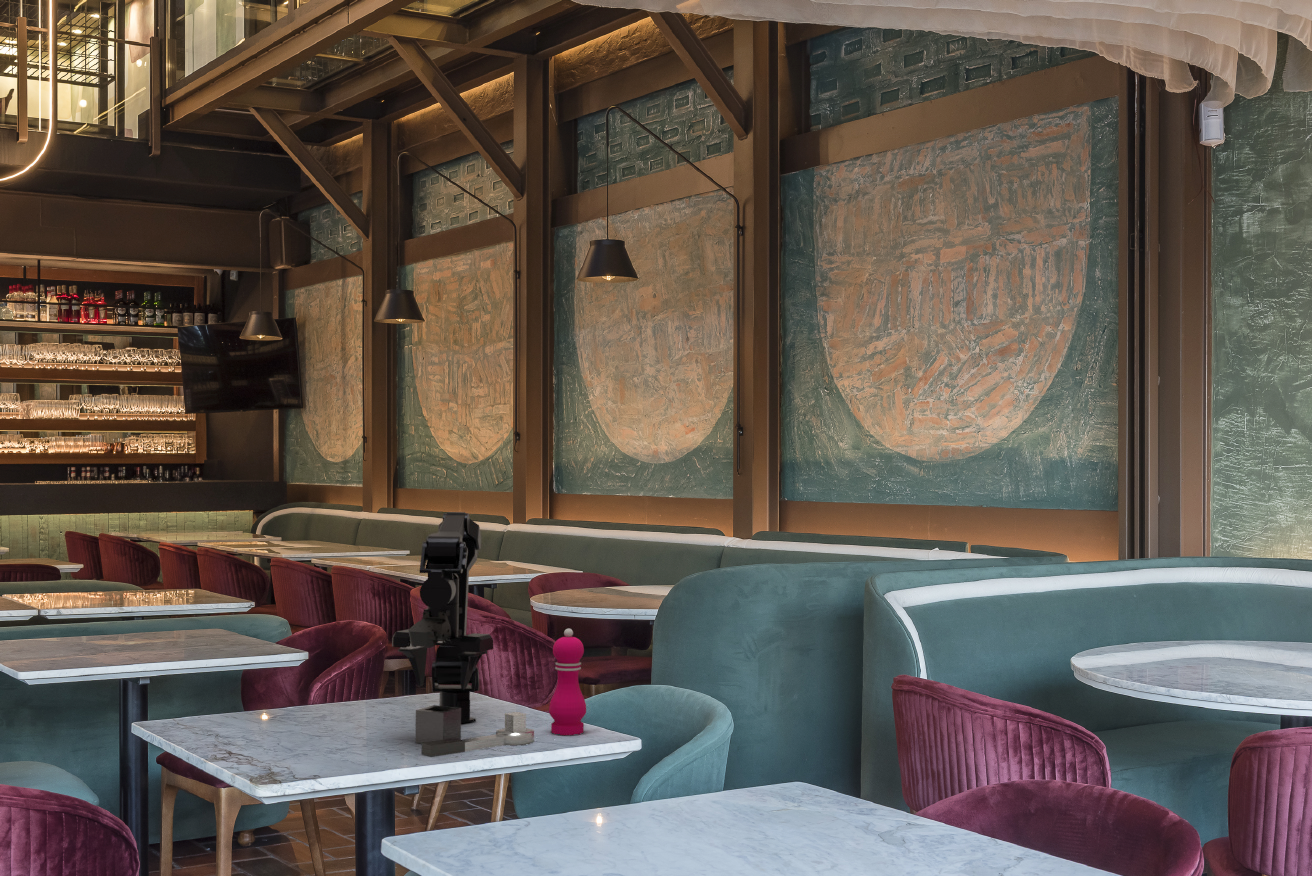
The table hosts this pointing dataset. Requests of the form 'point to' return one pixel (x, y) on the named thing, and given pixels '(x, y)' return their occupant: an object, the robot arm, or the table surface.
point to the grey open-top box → (437, 723)
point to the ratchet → (484, 738)
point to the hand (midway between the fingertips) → (441, 687)
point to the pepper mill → (567, 687)
